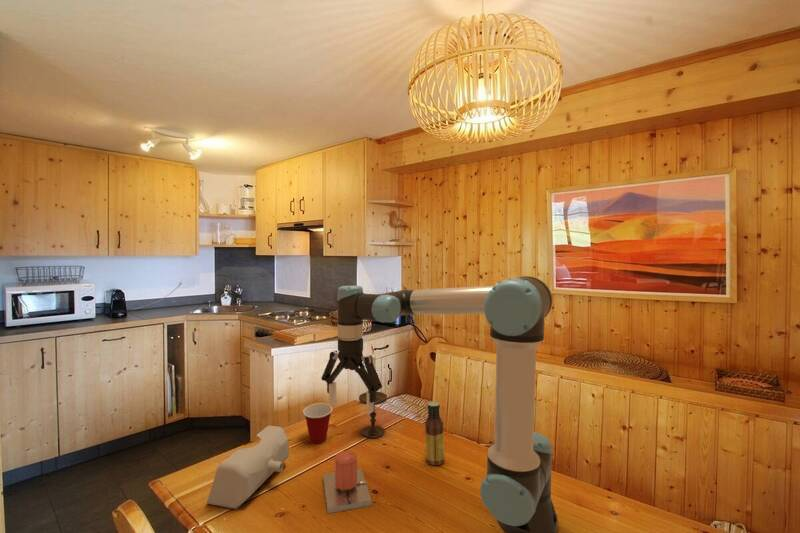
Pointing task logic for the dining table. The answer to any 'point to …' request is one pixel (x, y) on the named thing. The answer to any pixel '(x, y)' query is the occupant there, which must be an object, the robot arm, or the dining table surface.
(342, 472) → the wire nut
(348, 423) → the dining table surface
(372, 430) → the candlestick
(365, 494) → the plate
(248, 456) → the tank
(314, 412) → the plastic cup
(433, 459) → the sauce bottle
